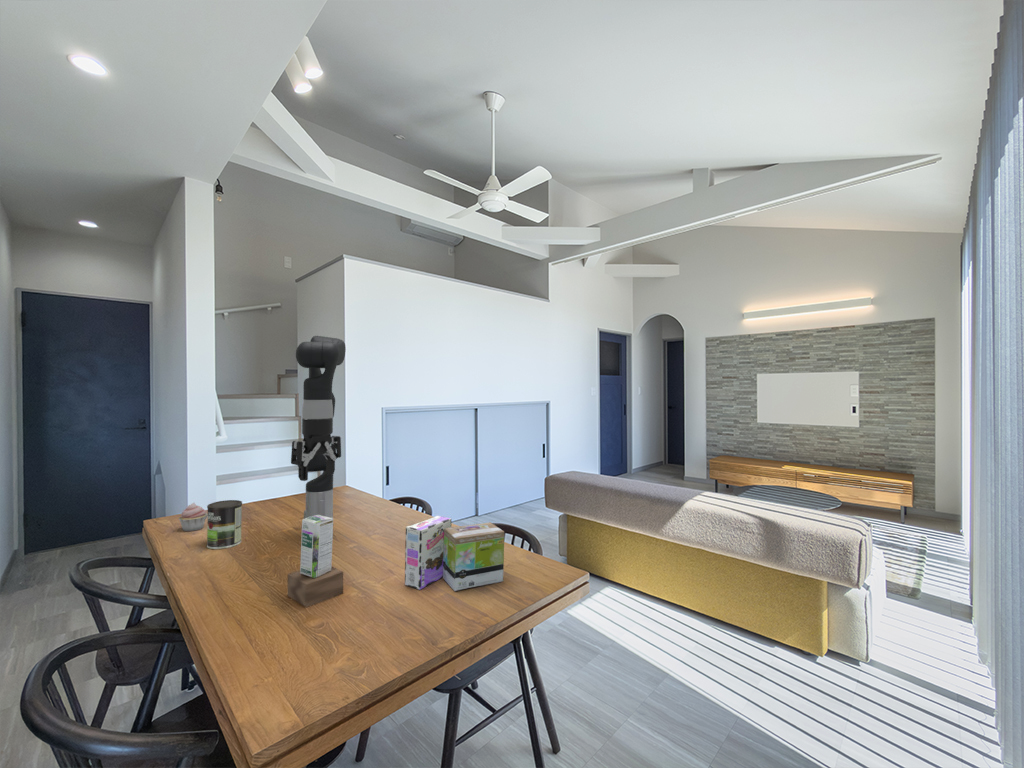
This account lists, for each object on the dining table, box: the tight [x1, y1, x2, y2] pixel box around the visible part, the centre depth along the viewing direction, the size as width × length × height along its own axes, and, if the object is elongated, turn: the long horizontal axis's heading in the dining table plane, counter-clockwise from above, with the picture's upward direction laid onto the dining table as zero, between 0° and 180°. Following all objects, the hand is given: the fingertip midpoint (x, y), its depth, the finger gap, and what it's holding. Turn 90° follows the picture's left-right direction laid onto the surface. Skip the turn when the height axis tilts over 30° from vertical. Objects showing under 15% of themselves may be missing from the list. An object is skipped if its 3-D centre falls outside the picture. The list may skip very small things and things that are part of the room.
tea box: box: [442, 521, 505, 592], centre depth 129 cm, size 15×10×15 cm
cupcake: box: [178, 502, 208, 532], centre depth 173 cm, size 9×9×10 cm
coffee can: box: [206, 499, 243, 550], centre depth 157 cm, size 10×10×14 cm
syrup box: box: [299, 515, 334, 578], centre depth 120 cm, size 6×6×14 cm
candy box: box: [404, 515, 452, 590], centre depth 130 cm, size 14×6×16 cm, turn 149°
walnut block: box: [287, 566, 344, 608], centre depth 120 cm, size 10×10×6 cm
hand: (317, 477), depth 120 cm, fingers open, 8 cm apart
